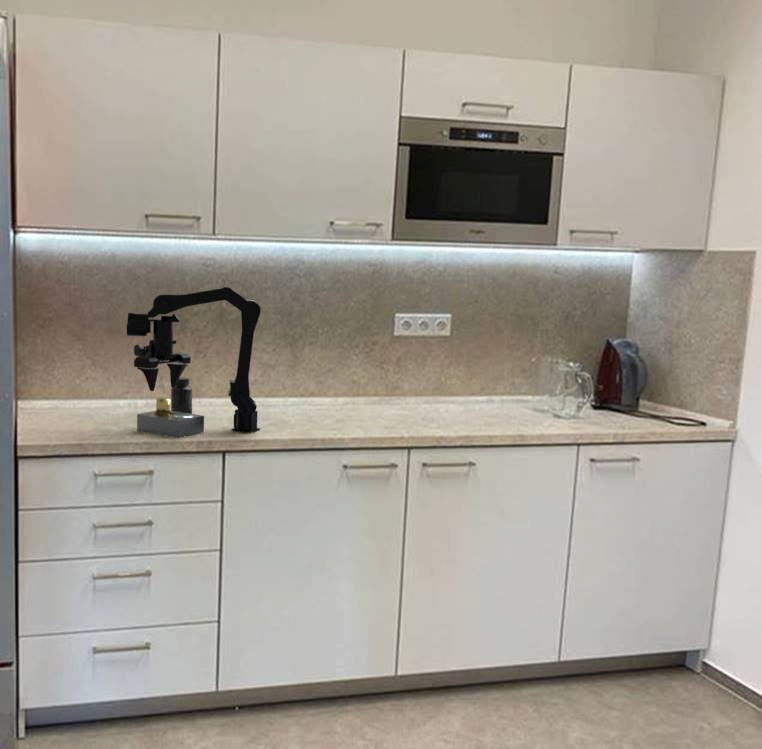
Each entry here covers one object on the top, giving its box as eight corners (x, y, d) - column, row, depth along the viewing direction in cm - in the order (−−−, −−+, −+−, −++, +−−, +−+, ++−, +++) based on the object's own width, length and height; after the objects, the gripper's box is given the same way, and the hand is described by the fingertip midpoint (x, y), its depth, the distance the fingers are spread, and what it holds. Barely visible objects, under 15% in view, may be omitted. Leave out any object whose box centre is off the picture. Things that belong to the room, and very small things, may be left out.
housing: (203, 432, 258) (204, 415, 258) (179, 438, 249) (179, 420, 248) (162, 425, 266) (162, 408, 265) (137, 430, 256) (137, 413, 255)
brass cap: (175, 425, 259) (176, 398, 258) (163, 427, 255) (164, 400, 254) (162, 422, 262) (162, 396, 261) (150, 425, 257) (150, 398, 256)
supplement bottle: (183, 411, 290) (183, 376, 288) (196, 414, 286) (196, 378, 284) (166, 414, 285) (166, 377, 283) (179, 417, 280) (179, 380, 279)
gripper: (163, 333, 267) (162, 383, 269) (119, 336, 250) (119, 389, 252) (192, 335, 262) (191, 386, 264) (149, 339, 245) (148, 394, 247)
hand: (162, 389), depth 257 cm, fingers open, 9 cm apart
